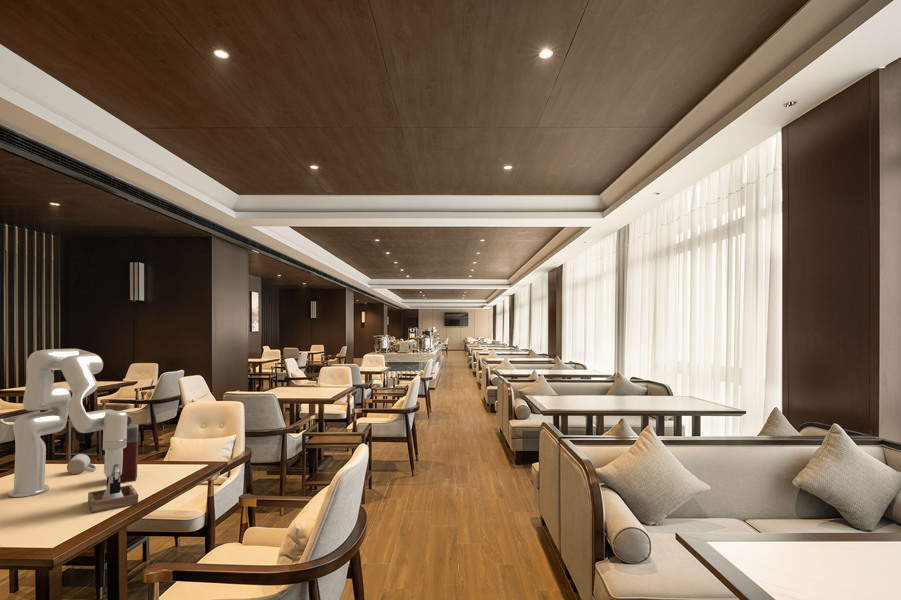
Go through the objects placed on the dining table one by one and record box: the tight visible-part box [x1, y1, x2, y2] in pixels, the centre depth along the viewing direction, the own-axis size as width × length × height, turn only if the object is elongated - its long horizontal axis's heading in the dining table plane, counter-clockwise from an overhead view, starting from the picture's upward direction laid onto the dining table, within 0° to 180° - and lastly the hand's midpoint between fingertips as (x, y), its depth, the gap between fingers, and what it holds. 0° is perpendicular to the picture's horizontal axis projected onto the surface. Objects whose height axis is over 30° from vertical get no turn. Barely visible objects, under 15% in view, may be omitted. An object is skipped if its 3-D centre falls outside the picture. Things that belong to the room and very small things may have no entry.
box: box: [87, 484, 139, 514], centre depth 186 cm, size 16×14×4 cm
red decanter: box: [120, 414, 139, 484], centre depth 217 cm, size 9×11×28 cm
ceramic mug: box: [66, 453, 97, 475], centre depth 228 cm, size 11×8×8 cm
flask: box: [101, 474, 124, 501], centre depth 187 cm, size 7×7×10 cm
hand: (113, 490), depth 187 cm, fingers open, 9 cm apart
